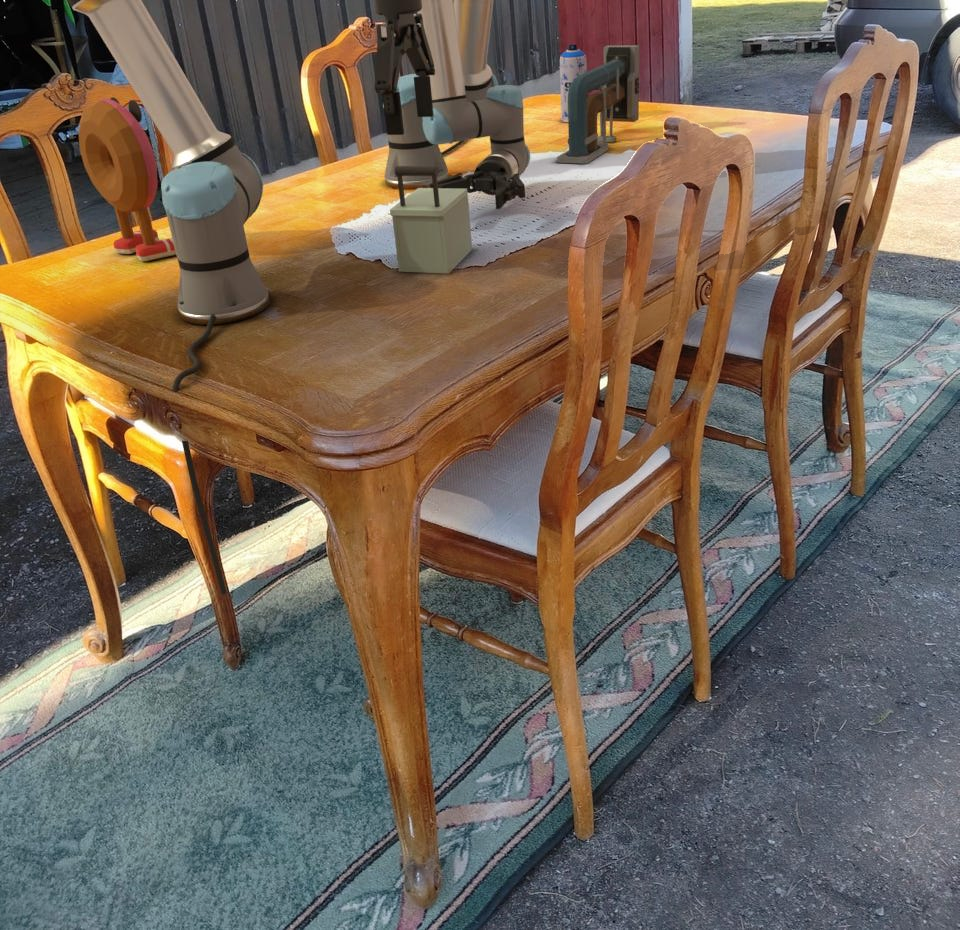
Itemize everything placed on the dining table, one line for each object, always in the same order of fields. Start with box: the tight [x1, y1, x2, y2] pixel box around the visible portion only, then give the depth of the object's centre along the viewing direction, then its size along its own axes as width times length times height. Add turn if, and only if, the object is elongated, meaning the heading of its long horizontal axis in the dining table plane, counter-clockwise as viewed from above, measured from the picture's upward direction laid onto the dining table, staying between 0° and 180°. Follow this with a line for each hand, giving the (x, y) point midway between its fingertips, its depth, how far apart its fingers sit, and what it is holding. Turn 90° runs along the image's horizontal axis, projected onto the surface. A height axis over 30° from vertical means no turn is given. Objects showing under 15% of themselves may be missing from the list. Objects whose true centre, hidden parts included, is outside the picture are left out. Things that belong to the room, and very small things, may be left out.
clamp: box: [555, 44, 640, 164], centre depth 242 cm, size 35×9×21 cm, turn 151°
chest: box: [391, 195, 473, 275], centre depth 177 cm, size 13×10×10 cm
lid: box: [389, 166, 469, 217], centre depth 172 cm, size 14×10×8 cm
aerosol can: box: [559, 43, 588, 123], centre depth 273 cm, size 8×8×20 cm
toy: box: [78, 96, 177, 262], centre depth 190 cm, size 21×10×30 cm, turn 47°
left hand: (411, 125), depth 163 cm, fingers open, 13 cm apart
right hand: (464, 201), depth 188 cm, fingers open, 13 cm apart
